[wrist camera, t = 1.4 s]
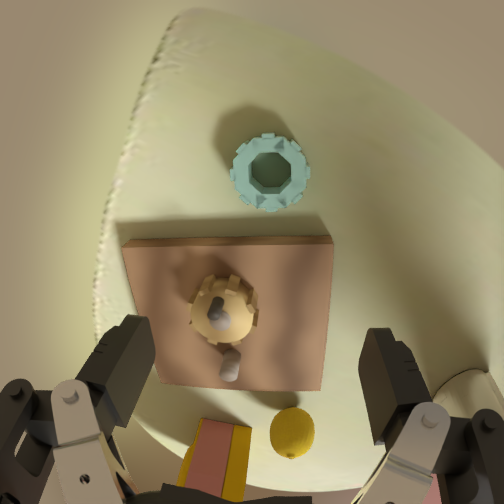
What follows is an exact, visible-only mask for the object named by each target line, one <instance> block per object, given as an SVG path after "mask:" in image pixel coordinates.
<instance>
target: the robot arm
mask: <svg viewBox="0 0 504 504" xmlns="http://www.w3.org/2000/svg"><path fill="white" fill-rule="evenodd" d="M155 355H156V349H155V344H154V339H153V335H152V331H151V326H150V322H149V319H148V317H146V316H138V315H130V314H128V315H127V316H126V317H125V318H124V320H123V321H122V323H121V324H120V326H114V327H113V328H111V329H110V330H109V331H107V332H106V333H105V334H104V335H103V337H102V338H101V340H100V341H99V344H98V345H97V346H96V347H95V349H94V352H92V353H91V355H90V356H89V358H88V359H87V361H86V362H85V364H84V366H83V367H82V369H81V370H80V372H79V373H78V375H77V377H76V378H75V379H72V380H66V381H63V382H61V383H60V384H58V385H57V386H56V387H55V388H54V390H53V391H48V390H46V391H45V390H34V389H33V387H32V385H31V383H30V382H29V381H27V380H25V379H15V380H13V381H11V382H9V383H8V384H7V385H6V386H5V387H4V388H3V390H2V391H1V393H0V504H38V503H39V501H40V498H41V495H42V493H43V490H44V487H45V485H46V482H47V480H48V477H49V475H50V472H51V470H52V467H53V465H54V462H55V464H56V468H57V473H58V476H59V480H60V484H61V488H62V492H63V495H64V499H65V502H66V504H312V497H311V496H300V497H297V496H296V497H283V496H274V497H268V498H263V499H257V500H250V501H242V502H232V501H229V500H226V499H223V498H220V497H217V496H214V495H211V494H209V493H206V492H203V491H201V490H198V489H192V488H186V487H181V486H175V485H170V484H165V483H163V485H162V488H161V491H149V492H144V493H139V491H138V489H137V487H136V485H135V484H134V482H133V480H132V479H131V477H130V475H129V473H128V470H127V468H126V466H125V463H124V461H123V458H122V456H121V453H120V451H119V448H118V446H117V443H116V440H115V437H114V435H113V433H112V432H113V429H114V427H115V425H116V426H120V427H124V428H126V427H127V424H128V422H129V419H130V417H131V415H132V412H133V410H134V408H135V405H136V403H137V400H138V398H139V396H140V393H141V391H142V389H143V387H144V384H145V382H146V380H147V377H148V375H149V373H150V371H151V368H152V366H153V364H154V361H155ZM358 371H359V377H360V381H361V386H362V390H363V394H364V399H365V403H366V408H367V412H368V417H369V422H370V427H371V431H372V436H373V441H374V446H375V445H384V444H385V448H386V452H385V453H384V455H383V457H382V458H381V460H380V461H379V463H378V465H377V466H376V468H375V469H374V471H373V472H372V474H371V476H370V477H369V479H368V480H367V482H366V483H365V484H364V486H363V487H362V489H361V490H360V492H359V493H358V494H357V496H356V497H355V498H354V499H353V501H352V502H351V503H350V504H422V502H423V500H424V498H425V497H426V494H427V492H428V490H429V488H430V486H431V484H432V480H433V477H431V476H430V475H431V473H433V474H437V479H438V484H439V490H440V496H441V502H442V504H504V398H503V396H502V394H501V392H500V390H499V388H498V386H497V385H496V383H495V381H494V379H493V377H492V376H491V374H490V372H488V373H484V372H483V371H482V370H479V369H473V370H468V371H465V372H463V373H461V374H459V375H457V376H455V377H453V378H452V379H450V380H449V381H448V382H446V383H445V384H444V385H443V386H442V387H441V388H440V389H439V390H438V392H437V393H436V395H435V396H434V399H433V401H432V399H431V397H430V394H429V392H428V389H427V387H426V384H425V382H424V379H423V377H422V375H421V372H420V371H419V368H418V365H417V363H415V358H414V356H413V354H412V352H411V350H410V349H409V348H408V347H407V346H406V345H405V344H404V343H403V342H402V341H395V339H394V336H393V334H392V332H391V330H390V328H369V329H368V331H367V334H366V338H365V341H364V345H363V348H362V352H361V355H360V358H359V365H358ZM24 430H25V432H26V433H27V434H26V436H25V438H24V441H23V442H22V444H21V447H20V449H19V451H18V453H17V455H16V457H15V455H14V452H15V448H16V446H17V444H18V442H19V440H20V438H21V436H22V434H23V432H24Z"/></svg>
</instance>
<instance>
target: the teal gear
mask: <svg viewBox="0 0 504 504" xmlns="http://www.w3.org/2000/svg"><path fill="white" fill-rule="evenodd" d="M301 149H302V148H301V147H300V145H298V144H297V143H296V142H295V141H294V140H293V139H291V140H290V141H289V140H288V139H287V138H285V137H284V136H275V132H271V133H263V134H262V136H261V137H254V138H252V140H251V141H250V142H249V141H248V140H247V141H245V142H244V143H243V144H242V145H241V146H240V147H239V148H238V149H237V150H236V152H237V153H238V155H237V156H236V158H235V159H234V160H233V167H232V168H231V169H230V181H234V182H235V190H236V191H238V192H239V193H240V194H241V195H240V197H239V198H240V199H241V200H242V201H243V202H244V203H246V204H247V205H249V204H250V203H251V204H252V205H254V206H255V207H256V208H266V212H277V210H278V208H286V207H287V206H288V205H289V204H290V203H291V202H293V203H294V204H296V203H297V202H298V201H299V200H300V199H301V198H302V197H303V194H302V191H303V190H304V189H305V188H306V179H310V166H309V164H308V162H306V157H305V155H304V154H303V153H302V152H301V151H300V150H301ZM268 152H278V153H279V154H280V155H281V156H283V157H284V158H285V159H286V160H287V161H288V162H289V163H290V164H291V176H290V177H289V178H288V179H287V180H286V181H285V182H284V183H283V184H282V185H281V186H280V187H263V186H262V185H261V184H260V183H259V182H258V181H256V180H255V179H254V178H253V177H252V163H251V162H252V161H253V160H254V158H255V157H256V156H257V155H258V154H259V153H268Z"/></svg>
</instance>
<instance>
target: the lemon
mask: <svg viewBox="0 0 504 504" xmlns="http://www.w3.org/2000/svg"><path fill="white" fill-rule="evenodd" d="M314 434H315V430H314V423H313V420H312V418H311V417H310V415H309V414H308V413H307V412H306V411H304V410H302V409H300V408H295V407H291V408H286V409H284V410H282V411H280V412H279V413H278V414H277V415H276V416H275V417H274V419H273V421H272V423H271V426H270V441H271V444H272V447H273V448H274V450H275V451H276V452H277V453H278V454H279V455H281V456H283V457H286V458H289V459H294V458H296V457H299V456H301V455H303V454H305V453H306V452H307V451H308V450H309V449H310V447H311V445H312V443H313V440H314Z"/></svg>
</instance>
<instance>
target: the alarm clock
mask: <svg viewBox="0 0 504 504" xmlns="http://www.w3.org/2000/svg"><path fill="white" fill-rule="evenodd" d="M233 426H234V427H233ZM251 432H252V428H250V427H244V426H239V425H233V424H228V423H223V422H218V421H213V420H209V419H203V418H201V420H200V423H199V426H198V430H197V433H196V436H195V440H194V443H193V444H192V445H191V446H190V447H189V448H188V450H187V452H186V454H185V457H184V460H183V463H182V466H181V469H180V473H179V476H178V480H177V484H176V486H181V487H186V488H192V489H198V490H201V491H203V492H206V493H209V494H211V495H214V496H217V497H220V498H223V499H226V500H229V501H232V502H242V501H243V496H244V490H245V484H246V477H247V468H248V459H249V450H250V441H251Z"/></svg>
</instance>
